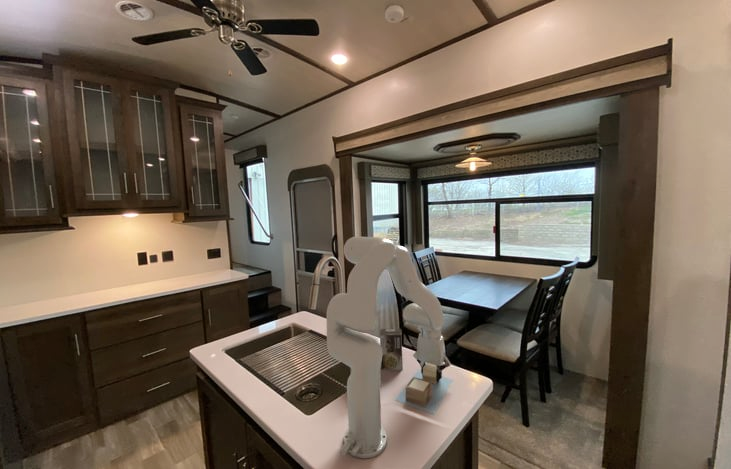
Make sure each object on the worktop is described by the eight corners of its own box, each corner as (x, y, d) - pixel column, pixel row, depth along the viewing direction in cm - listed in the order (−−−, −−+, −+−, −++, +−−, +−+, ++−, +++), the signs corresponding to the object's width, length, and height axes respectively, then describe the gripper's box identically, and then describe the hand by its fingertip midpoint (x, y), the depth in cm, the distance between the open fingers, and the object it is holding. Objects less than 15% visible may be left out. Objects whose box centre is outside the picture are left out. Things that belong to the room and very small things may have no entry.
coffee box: (402, 364, 124) (401, 328, 122) (402, 372, 117) (401, 334, 116) (381, 363, 125) (380, 328, 123) (380, 372, 118) (379, 334, 117)
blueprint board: (433, 417, 92) (433, 399, 91) (394, 402, 99) (394, 386, 99) (452, 381, 110) (452, 366, 110) (418, 371, 118) (418, 357, 117)
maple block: (435, 384, 107) (435, 371, 106) (422, 380, 109) (422, 367, 109) (439, 377, 111) (439, 365, 110) (427, 373, 114) (427, 361, 113)
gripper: (406, 331, 110) (407, 376, 112) (450, 341, 101) (450, 389, 102) (414, 324, 116) (414, 367, 118) (456, 333, 107) (456, 379, 109)
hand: (431, 377), depth 110 cm, fingers closed on maple block, 5 cm apart
